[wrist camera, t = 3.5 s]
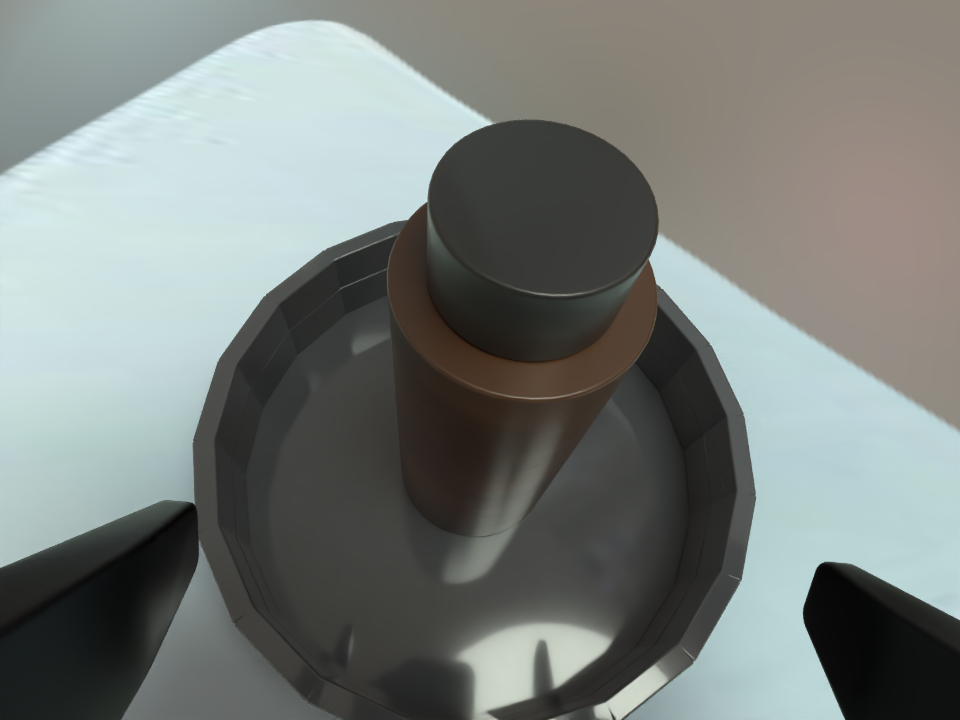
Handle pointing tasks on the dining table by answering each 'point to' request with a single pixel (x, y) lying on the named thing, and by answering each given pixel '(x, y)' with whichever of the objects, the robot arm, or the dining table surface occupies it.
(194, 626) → the dining table surface
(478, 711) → the pan
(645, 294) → the pepper mill
